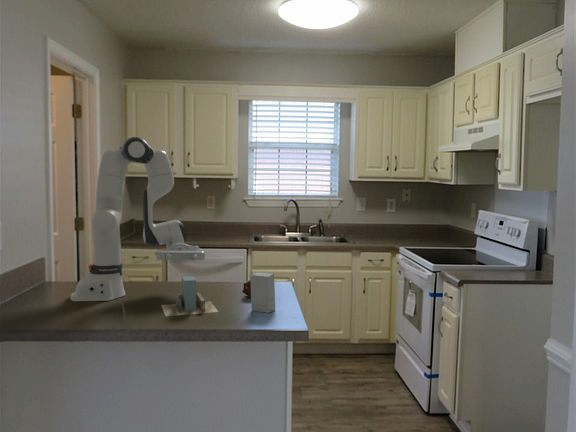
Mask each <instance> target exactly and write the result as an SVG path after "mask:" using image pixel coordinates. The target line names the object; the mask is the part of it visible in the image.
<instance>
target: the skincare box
mask: <svg viewBox="0 0 576 432" xmlns="http://www.w3.org/2000/svg"><path fill="white" fill-rule="evenodd" d="M249 278H250V280H251V298H250V302H251V306H250V307H251V311H252V312H259V313H267V314H269V313H271V312H273V311H275V310H276V291H275V290H276V289H275V288H276V287H275V273H266V272H255V273H253V274H251V275H250V277H249Z"/></svg>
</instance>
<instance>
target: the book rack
mask: <svg viewBox="0 0 576 432" xmlns="http://www.w3.org/2000/svg"><path fill="white" fill-rule="evenodd" d="M176 295H178V296H179V298H180V300H181V313H179V311H178V309H177V307H176V303H172V304H171V303H170V304H161V308H162V311H163V315H164V316H165V317H172V316H173V317H174V316H175V317H176V316H186V315H187V316H188V315H198V314H199V315H200V314H209V313H210V314H212V313H218V312H219V311H218V309H217V308H216V306H215V305H214V304H213V302H212V301H211V300H209V301H206V300H205V298H204V297H203V296H202V294H201V292H196V310H194V311H184V309H183V307H182V293H177V294H176Z"/></svg>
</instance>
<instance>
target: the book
mask: <svg viewBox="0 0 576 432" xmlns="http://www.w3.org/2000/svg"><path fill="white" fill-rule="evenodd" d="M196 293H197V279H196V278H195V277H194V276H182V277H181V294H182V307H183V309H184V311H194V310H196Z"/></svg>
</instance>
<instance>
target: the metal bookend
mask: <svg viewBox="0 0 576 432" xmlns="http://www.w3.org/2000/svg"><path fill="white" fill-rule="evenodd" d="M175 304H176V307H177V309H178V311H179V313H181V300H180V298H179V296H178V295H177V294H175Z"/></svg>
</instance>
